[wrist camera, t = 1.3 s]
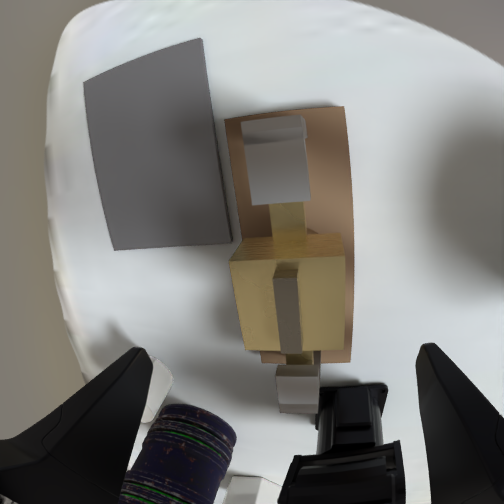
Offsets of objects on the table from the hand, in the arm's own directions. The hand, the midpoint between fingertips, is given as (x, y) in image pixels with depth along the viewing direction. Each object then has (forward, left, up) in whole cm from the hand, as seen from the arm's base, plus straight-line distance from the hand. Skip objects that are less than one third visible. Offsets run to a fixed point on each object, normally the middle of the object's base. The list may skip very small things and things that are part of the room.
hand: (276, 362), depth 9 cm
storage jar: (-23, +13, -12) cm, 29 cm away
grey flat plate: (+7, +10, -12) cm, 17 cm away
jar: (-39, +8, -12) cm, 42 cm away
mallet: (-1, 0, -8) cm, 8 cm away
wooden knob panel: (-1, 0, -12) cm, 12 cm away
